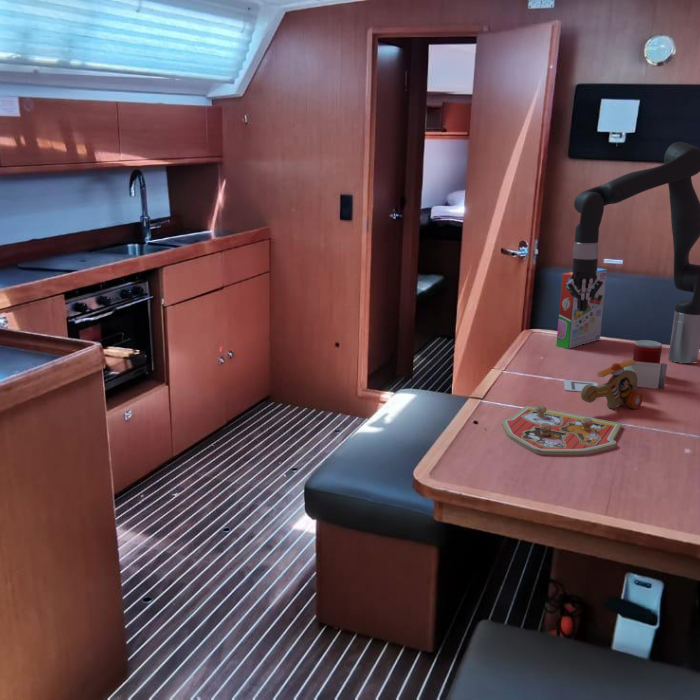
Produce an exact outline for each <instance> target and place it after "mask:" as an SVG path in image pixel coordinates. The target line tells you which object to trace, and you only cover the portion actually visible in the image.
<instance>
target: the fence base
mask: <svg viewBox="0 0 700 700" xmlns="http://www.w3.org/2000/svg"><path fill="white" fill-rule="evenodd" d="M624 361H627V360H626V359H624V360H622V362H624ZM631 367H632V369H633V371H634V372H635V374H636V375H637V387H638V388H645V387H648V388H647V389H656V388H659V389H660V390H664V388H665V381H666V377H667V368H668V364H667V363H661V362H660V363H648V362H636V361H635V364H633V365H631Z"/></svg>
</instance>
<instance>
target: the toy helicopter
mask: <svg viewBox="0 0 700 700" xmlns="http://www.w3.org/2000/svg"><path fill="white" fill-rule="evenodd" d="M633 364H635V361H634V360H633V359H628V360H626V361H624V362H623V361H622V362H621V361H620V362H615V363H613V364H612V365H611V366H610V367H607V368H605V369H602V370H600V371H598V372H597V374H596V376H597V377H599V378H603V377H606V376H608V375H612V376H611V377H610V378H609V379H608V381H607V382H606V383H602V384H598V386H593V385H586V386H585V387H584V388H583V389H582V392H580V397H581V399H582V400H583V401H584V402H585V403H589V404H591V403H593V402H595V401H596V400H597V399H600V398H606V406H607V408H609V409H612V410H615V409H616V408H617V407H618V406H624V405H627V406H628V407H629V408H630V409H633V410H637V409H639V408H640V407H641V405H642V403H643V399H644V396H643V394H642V393H641V392H638V391H637V375H636V374H635V372H633V371H631V370H625V369H624V367H627V366H630V365H633Z"/></svg>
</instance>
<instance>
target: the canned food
mask: <svg viewBox="0 0 700 700" xmlns="http://www.w3.org/2000/svg"><path fill="white" fill-rule="evenodd" d="M662 348H663V344H662V343H661V342H658V341H656V340H650V339H640V340H636V341H635V343H634V349H633V356H632V357H633V358H632V360H634V361H636V362H648V363H660V364H661V356H662V350H663V349H662Z"/></svg>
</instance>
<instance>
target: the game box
mask: <svg viewBox="0 0 700 700" xmlns="http://www.w3.org/2000/svg"><path fill="white" fill-rule="evenodd" d="M607 274H608V269H606V268H600V267H597V272H596V275H597V279H598V280H599V281H602V282H603V284H602V286H601V287H600V288H599V290H598V291H597V293H596V294H595V295H594V297H590V298H589V299H588V304H587V309H586V311H579V310H578V309H577V298H574V297H572V295H571V294H570V292H569V291H568V289H567V288H566V286H565V283H566V282H567V283H568V282H569V281H570V280H571V277H572V275H573V271H569V272H568V271H567V272H564V273H562V278H561V290H560V299H559V300H560V301H559V310H558V311H559V312H558V321H557V333H556V342H555V343H556V344H555V346H556V347H558V348H563V349H566V350H569V349H572V348H577V347H580V346H583V345H582V344H584V345H586V343H587V344H590V342H591V343H594V342H597V341H600V340H601V333H602V323H603V313H604V302H605V291H606V283H607ZM574 288H575V290H576V286H575V285H574ZM599 339H600V340H599ZM596 340H597V341H596ZM593 341H594V342H593ZM579 345H580V346H579ZM576 346H577V347H576Z"/></svg>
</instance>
